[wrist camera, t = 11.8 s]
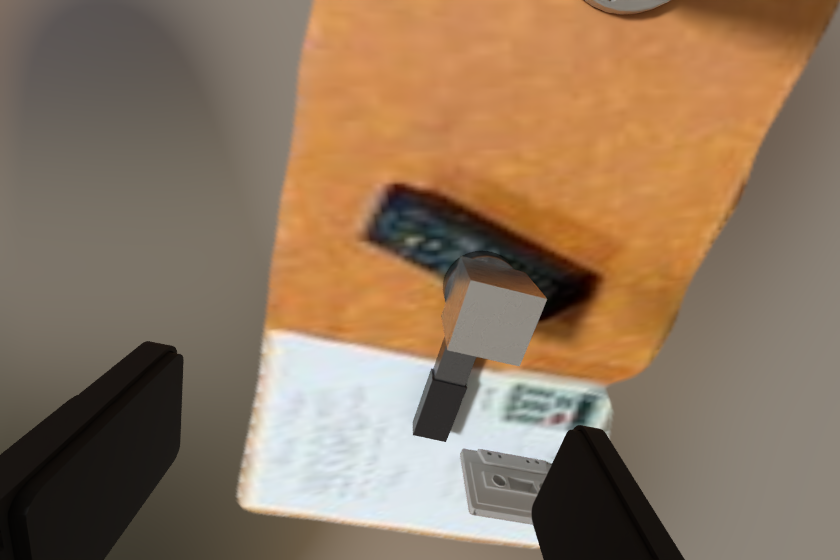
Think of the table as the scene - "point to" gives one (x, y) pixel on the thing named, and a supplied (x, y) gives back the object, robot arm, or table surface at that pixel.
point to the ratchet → (447, 373)
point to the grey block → (491, 311)
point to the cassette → (502, 484)
